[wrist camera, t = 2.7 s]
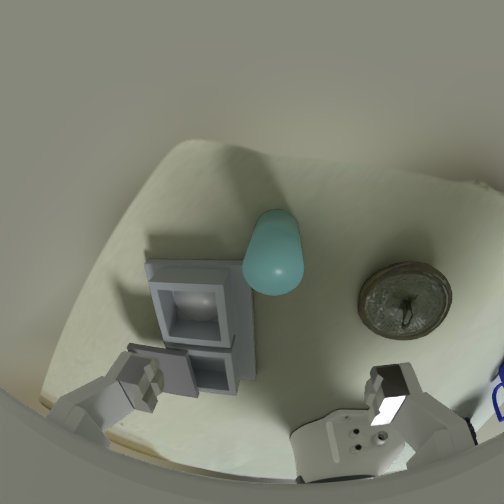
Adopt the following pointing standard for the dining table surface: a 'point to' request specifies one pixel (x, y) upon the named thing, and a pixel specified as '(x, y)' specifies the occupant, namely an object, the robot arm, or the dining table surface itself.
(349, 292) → the dining table surface
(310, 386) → the dining table surface
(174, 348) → the housing
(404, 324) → the lid
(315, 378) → the dining table surface
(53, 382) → the dining table surface
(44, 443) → the robot arm
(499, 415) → the mug
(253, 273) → the jaw peg
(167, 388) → the slide lid
